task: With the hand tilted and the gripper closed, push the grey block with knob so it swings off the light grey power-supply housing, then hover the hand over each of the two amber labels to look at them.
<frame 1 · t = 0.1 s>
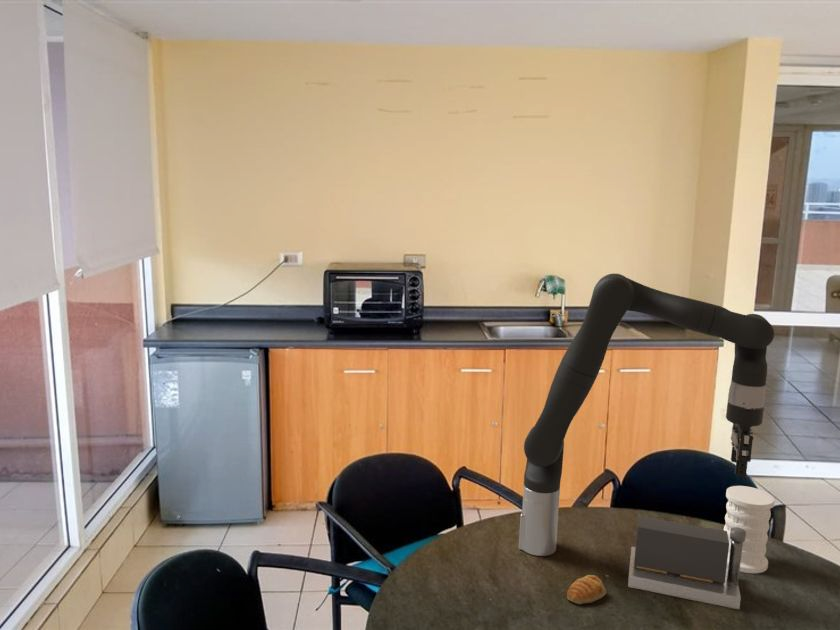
hand: (738, 468, 154), 29 cm above the table, tool pointing down, fingers open, 8 cm apart
grey block with knob: (688, 546, 157), point 9 cm above the table, hinge at 0.0°
decorative container: (742, 561, 169), on the table
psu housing: (681, 581, 159), on the table
pastry: (586, 596, 153), on the table
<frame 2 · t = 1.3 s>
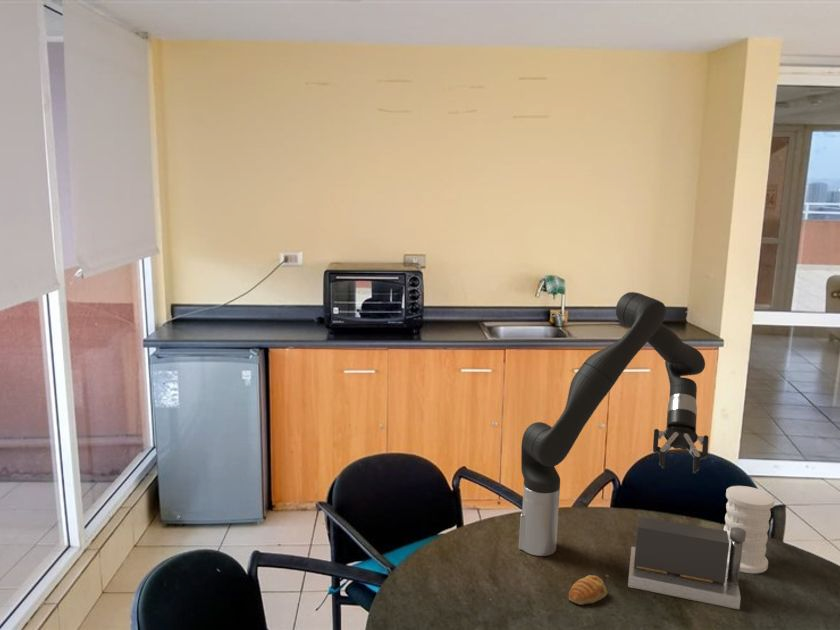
hand: (678, 469, 174), 21 cm above the table, tool tilted 45°, fingers open, 7 cm apart
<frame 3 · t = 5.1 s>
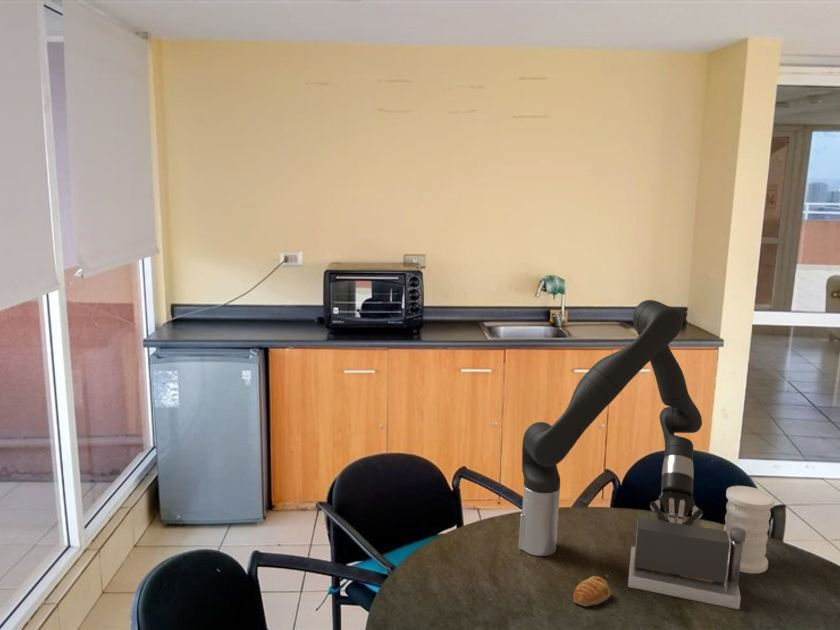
hand: (674, 543, 162), 8 cm above the table, tool tilted 45°, fingers closed
grey block with knob: (688, 546, 157), point 9 cm above the table, hinge at 1.8°, touching gripper
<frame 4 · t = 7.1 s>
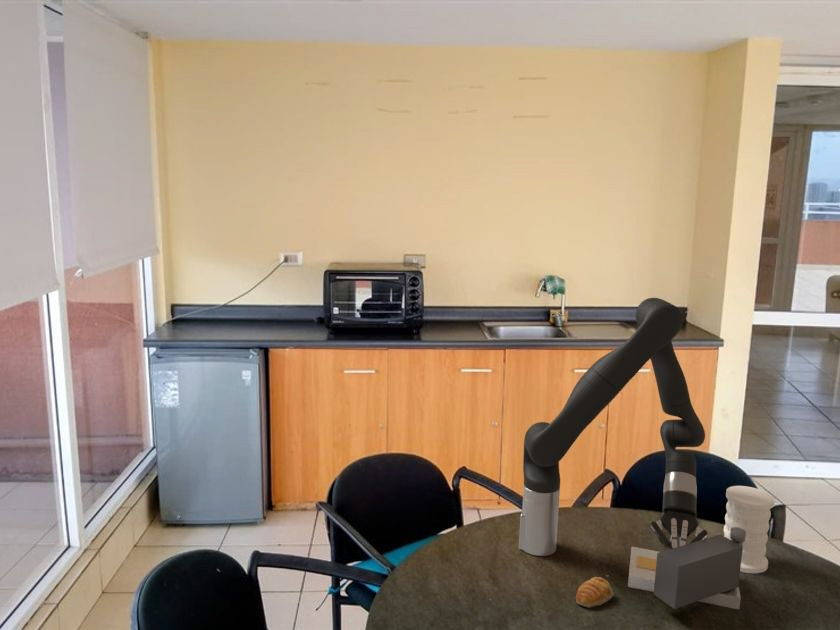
hand: (677, 567, 152), 8 cm above the table, tool tilted 45°, fingers closed
grey block with knob: (704, 564, 150), point 9 cm above the table, hinge at 45.9°
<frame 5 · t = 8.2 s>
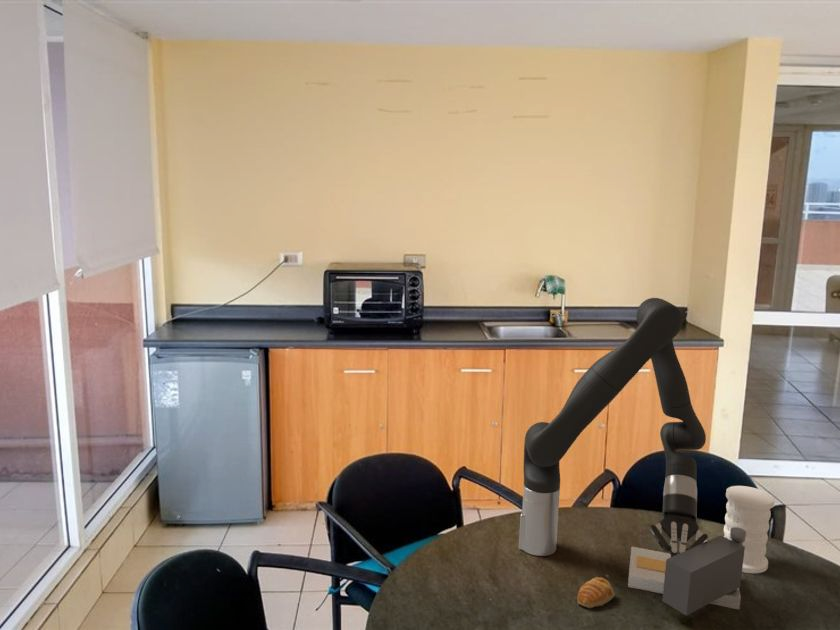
hand: (677, 571, 150), 8 cm above the table, tool tilted 45°, fingers closed
grey block with knob: (709, 567, 148), point 9 cm above the table, hinge at 53.1°, touching hand
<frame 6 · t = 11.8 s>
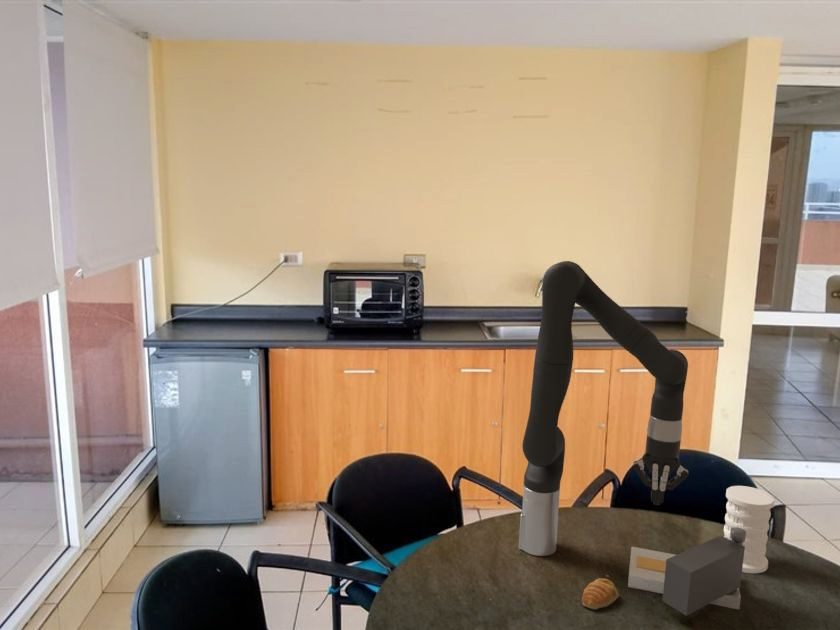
hand: (656, 503, 159), 19 cm above the table, tool pointing down, fingers closed
grey block with knob: (709, 567, 148), point 9 cm above the table, hinge at 53.1°
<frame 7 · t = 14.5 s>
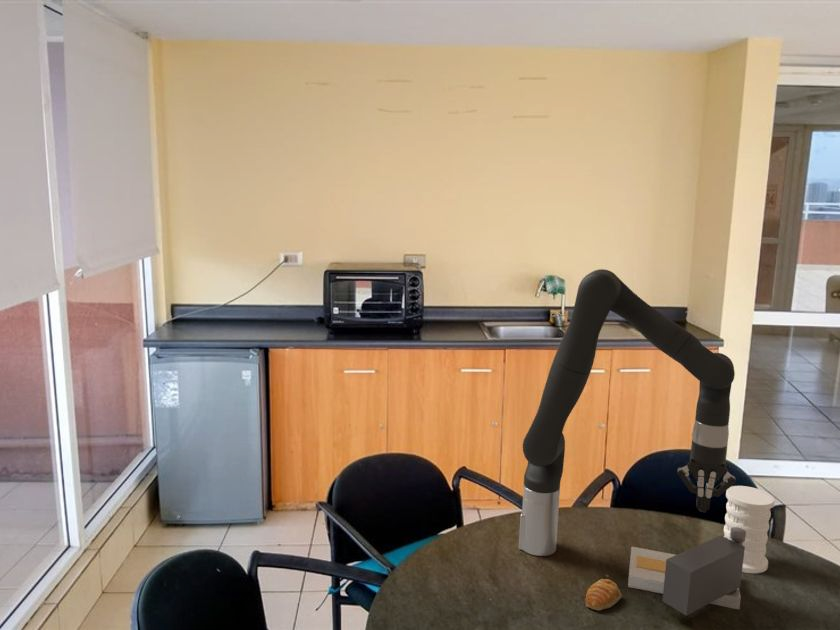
hand: (702, 510, 155), 19 cm above the table, tool pointing down, fingers closed
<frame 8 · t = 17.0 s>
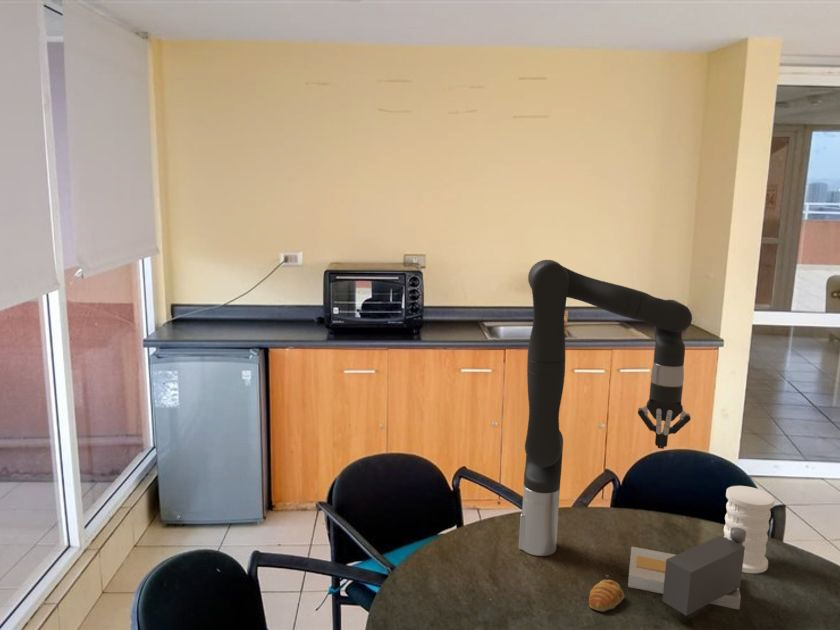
hand: (660, 447, 167), 29 cm above the table, tool pointing down, fingers closed
at the end: grey block with knob at +53° (first picture: +0°); decorative container moved 0.2 cm from its start; pastry moved 4.6 cm from its start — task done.
